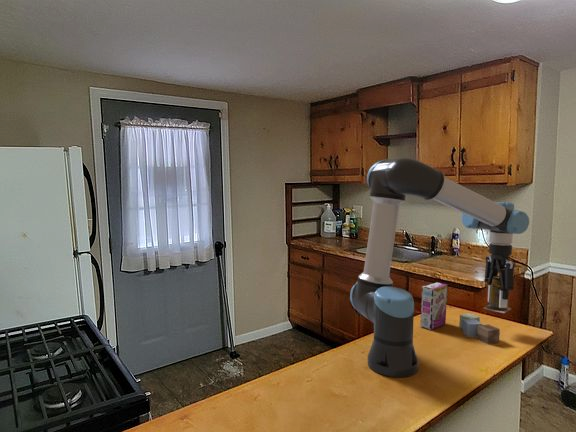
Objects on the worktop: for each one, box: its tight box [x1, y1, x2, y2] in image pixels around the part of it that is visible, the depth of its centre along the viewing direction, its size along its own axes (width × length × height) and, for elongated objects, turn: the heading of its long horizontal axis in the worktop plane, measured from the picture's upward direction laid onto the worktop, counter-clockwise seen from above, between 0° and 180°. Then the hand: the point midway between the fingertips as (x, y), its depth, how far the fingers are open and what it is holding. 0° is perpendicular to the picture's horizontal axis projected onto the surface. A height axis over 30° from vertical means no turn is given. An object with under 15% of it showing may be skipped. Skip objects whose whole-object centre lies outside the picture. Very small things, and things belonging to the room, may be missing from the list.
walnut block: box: [476, 323, 501, 345], centre depth 139 cm, size 5×5×5 cm
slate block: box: [461, 319, 483, 338], centre depth 144 cm, size 5×5×5 cm
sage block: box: [458, 312, 481, 329], centre depth 151 cm, size 5×5×5 cm
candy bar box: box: [419, 282, 448, 331], centre depth 153 cm, size 11×5×16 cm, turn 130°
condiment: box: [483, 275, 512, 314], centre depth 145 cm, size 7×8×12 cm
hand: (497, 304), depth 146 cm, fingers closed on condiment, 6 cm apart
